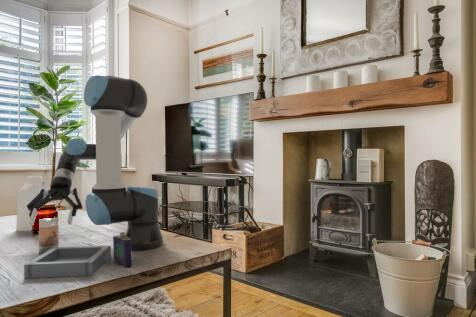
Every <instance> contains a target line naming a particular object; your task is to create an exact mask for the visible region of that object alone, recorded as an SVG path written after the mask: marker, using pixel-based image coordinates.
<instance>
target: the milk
mask: <svg viewBox="0 0 476 317" xmlns="http://www.w3.org/2000/svg"><path fill="white" fill-rule="evenodd" d="M50 188H51V186H49V185H48V184H47V183H46V182H45V181H44V178H43V176H42V175H37V176H36V175H29V176H28V178H27V181H26V182H25V183H24V185H23V186H22V187H21V188H20V189H19V190H18V193H17V203H16V204H17V206H16V208H17V209H16V223H15V224H16V225H15V226H16V227H15V231H16V232H20V231H21V232H32V231H31V230H32V226H31V225H30V223H29V221H30V216H29V214H30V211H29V210H28V208H27V205H28V204H29V203H30V202H31V201H32V200H33V199H34V198H35V197H36V196H37V195H38V194H39V193H40V191H41V190H42V189H44V190H46V191H49V190H50ZM47 195H48V194H47ZM45 197H46V196H44V198H45ZM50 198H51V197H50ZM48 203H53V204H54V200H52V201H51V202H48Z"/></svg>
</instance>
